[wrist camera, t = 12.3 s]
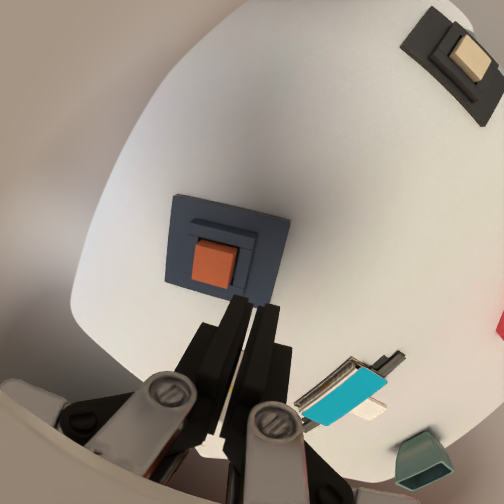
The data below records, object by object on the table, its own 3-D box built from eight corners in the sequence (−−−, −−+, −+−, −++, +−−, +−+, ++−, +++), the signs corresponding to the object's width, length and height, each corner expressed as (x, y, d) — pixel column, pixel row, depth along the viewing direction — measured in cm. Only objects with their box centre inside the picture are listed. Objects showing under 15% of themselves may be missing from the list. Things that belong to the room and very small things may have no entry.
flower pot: (388, 444, 38) (393, 484, 30) (431, 420, 35) (442, 461, 26) (406, 456, 39) (412, 491, 31) (445, 435, 36) (455, 471, 27)
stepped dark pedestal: (399, 47, 20) (406, 39, 18) (429, 8, 17) (437, -1, 15) (481, 127, 21) (493, 126, 18) (504, 83, 18) (516, 80, 15)
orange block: (197, 271, 29) (191, 279, 27) (201, 238, 28) (195, 244, 26) (231, 281, 29) (226, 289, 27) (237, 248, 27) (233, 254, 26)
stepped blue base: (168, 277, 33) (157, 288, 30) (177, 193, 29) (165, 198, 26) (268, 305, 32) (264, 320, 29) (290, 219, 28) (289, 227, 25)
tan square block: (448, 57, 17) (454, 53, 16) (460, 38, 16) (467, 34, 15) (473, 82, 18) (481, 80, 16) (484, 63, 16) (492, 60, 15)
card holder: (332, 440, 39) (332, 448, 37) (276, 415, 38) (274, 423, 37) (428, 371, 31) (431, 379, 30) (375, 334, 31) (377, 342, 29)
